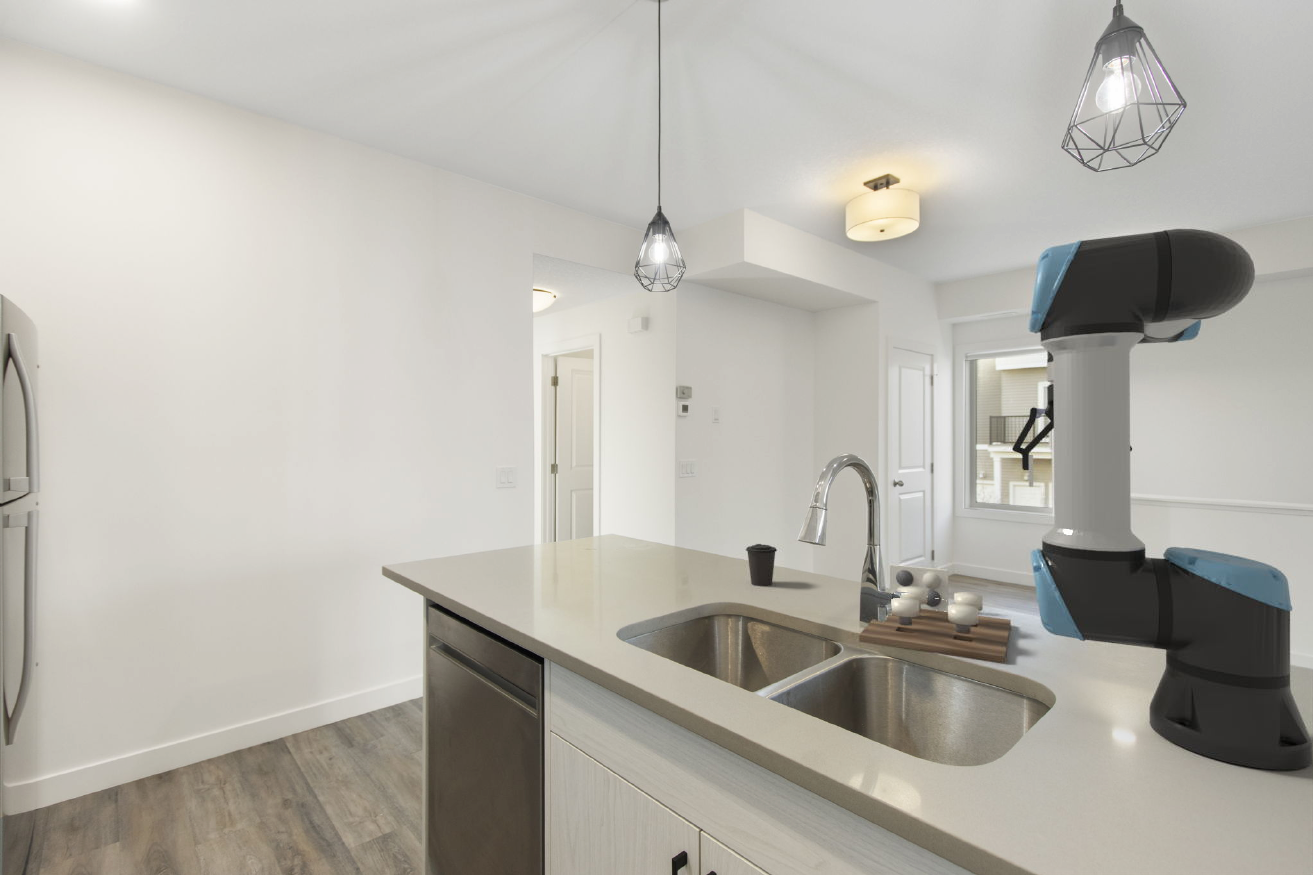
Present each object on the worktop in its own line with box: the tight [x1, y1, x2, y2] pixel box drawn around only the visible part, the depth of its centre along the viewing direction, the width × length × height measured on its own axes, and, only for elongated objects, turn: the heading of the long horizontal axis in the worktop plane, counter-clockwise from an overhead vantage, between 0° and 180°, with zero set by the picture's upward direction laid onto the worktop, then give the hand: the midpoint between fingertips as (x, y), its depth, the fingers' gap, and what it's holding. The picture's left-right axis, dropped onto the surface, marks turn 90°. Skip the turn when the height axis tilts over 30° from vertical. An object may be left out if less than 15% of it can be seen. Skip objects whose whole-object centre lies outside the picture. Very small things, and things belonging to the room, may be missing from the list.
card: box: [889, 563, 950, 612], centre depth 142 cm, size 4×12×9 cm, turn 59°
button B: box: [891, 597, 919, 626], centre depth 121 cm, size 5×5×4 cm
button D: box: [901, 587, 927, 612], centre depth 130 cm, size 5×5×4 cm
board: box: [858, 609, 1012, 665], centre depth 123 cm, size 24×24×1 cm
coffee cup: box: [745, 543, 778, 587], centre depth 165 cm, size 8×8×10 cm
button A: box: [948, 603, 979, 634], centre depth 116 cm, size 5×5×4 cm
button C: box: [953, 591, 984, 612], centre depth 124 cm, size 5×5×4 cm
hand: (1069, 487), depth 128 cm, fingers open, 13 cm apart
